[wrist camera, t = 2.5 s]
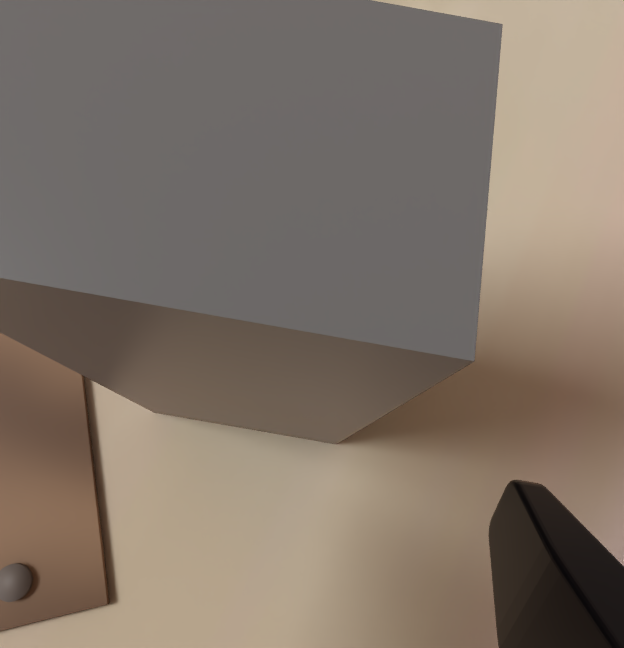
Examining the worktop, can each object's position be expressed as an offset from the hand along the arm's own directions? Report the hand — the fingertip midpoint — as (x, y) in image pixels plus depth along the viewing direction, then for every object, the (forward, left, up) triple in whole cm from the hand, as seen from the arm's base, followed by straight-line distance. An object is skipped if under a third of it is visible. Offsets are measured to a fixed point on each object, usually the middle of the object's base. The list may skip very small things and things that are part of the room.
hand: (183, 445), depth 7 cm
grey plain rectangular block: (+3, -2, -10) cm, 11 cm away
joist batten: (+4, +6, -10) cm, 13 cm away
